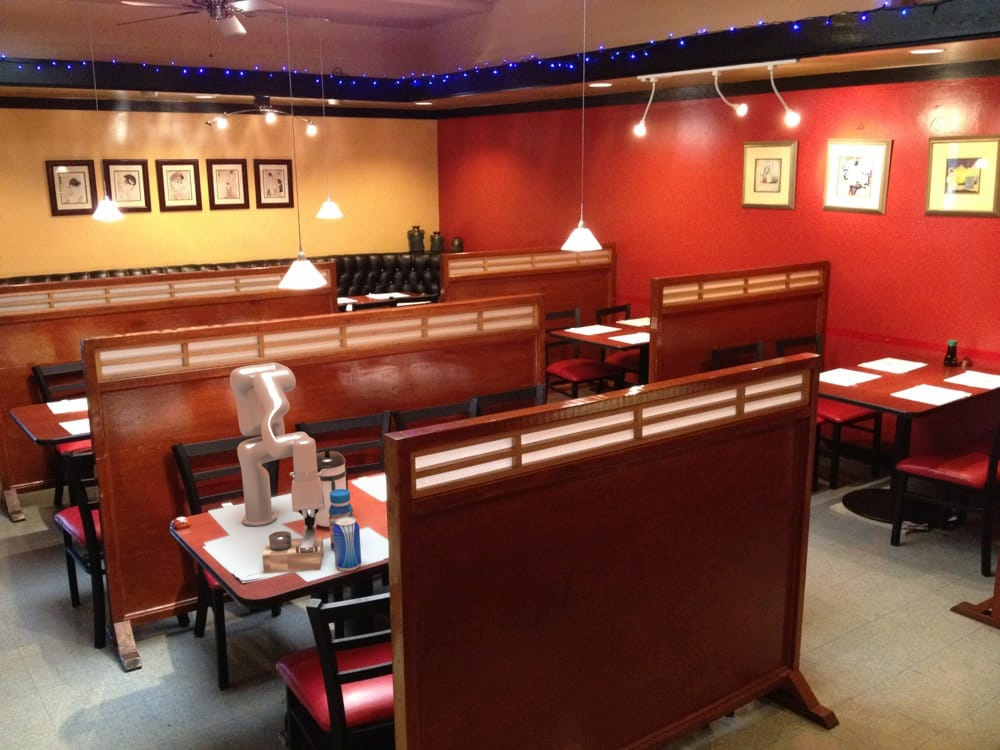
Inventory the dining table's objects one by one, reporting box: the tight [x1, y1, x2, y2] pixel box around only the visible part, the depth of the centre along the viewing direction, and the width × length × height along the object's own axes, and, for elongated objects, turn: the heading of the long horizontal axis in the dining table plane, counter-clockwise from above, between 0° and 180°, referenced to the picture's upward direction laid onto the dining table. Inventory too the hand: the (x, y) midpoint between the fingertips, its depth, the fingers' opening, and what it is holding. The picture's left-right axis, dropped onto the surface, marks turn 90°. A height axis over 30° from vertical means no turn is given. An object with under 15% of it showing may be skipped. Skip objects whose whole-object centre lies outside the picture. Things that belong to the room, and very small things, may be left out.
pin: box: [268, 530, 292, 551], centre depth 277 cm, size 7×7×10 cm
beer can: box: [333, 517, 362, 572], centre depth 274 cm, size 8×8×16 cm
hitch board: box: [262, 536, 325, 574], centre depth 278 cm, size 12×18×8 cm, turn 96°
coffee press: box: [314, 446, 349, 528], centre depth 308 cm, size 17×16×30 cm
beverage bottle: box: [329, 489, 355, 550], centre depth 289 cm, size 8×8×20 cm
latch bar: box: [300, 521, 317, 552], centre depth 278 cm, size 14×4×2 cm, turn 6°
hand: (310, 527), depth 280 cm, fingers closed
